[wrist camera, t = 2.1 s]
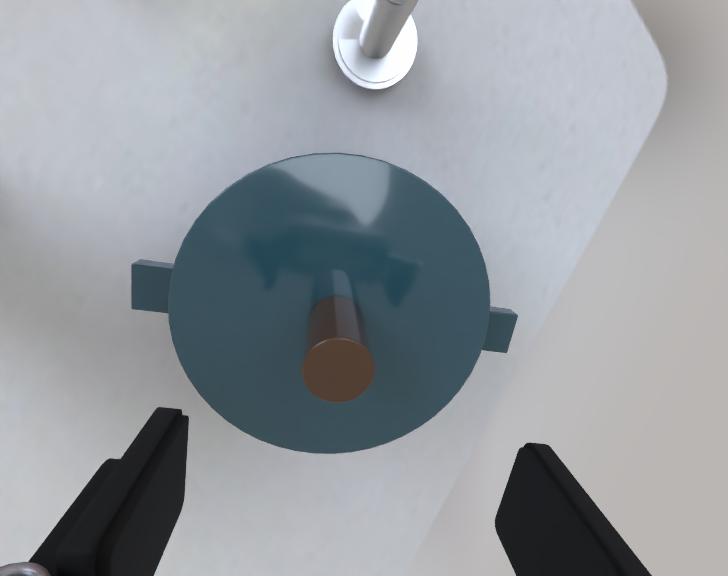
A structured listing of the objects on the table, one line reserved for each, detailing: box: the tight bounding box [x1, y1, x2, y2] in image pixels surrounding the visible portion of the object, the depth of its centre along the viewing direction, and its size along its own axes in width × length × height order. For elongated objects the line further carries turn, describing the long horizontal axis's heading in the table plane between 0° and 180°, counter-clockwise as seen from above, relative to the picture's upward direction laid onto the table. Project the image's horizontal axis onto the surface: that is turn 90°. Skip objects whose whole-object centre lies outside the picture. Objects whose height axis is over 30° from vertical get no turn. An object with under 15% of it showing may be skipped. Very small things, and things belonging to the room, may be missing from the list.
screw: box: [333, 0, 418, 90], centre depth 18 cm, size 13×5×5 cm
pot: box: [132, 260, 518, 353], centre depth 24 cm, size 15×20×8 cm
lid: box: [168, 153, 490, 454], centre depth 18 cm, size 16×16×6 cm
